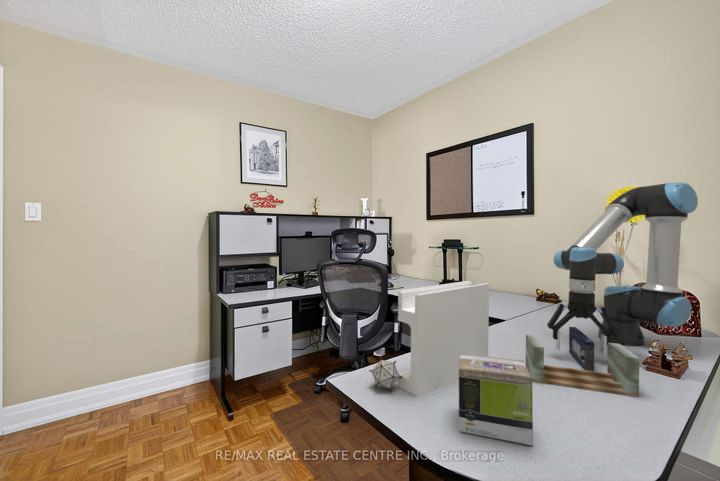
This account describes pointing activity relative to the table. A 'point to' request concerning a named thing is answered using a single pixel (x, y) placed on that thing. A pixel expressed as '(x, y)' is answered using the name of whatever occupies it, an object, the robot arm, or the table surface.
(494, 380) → the tea box
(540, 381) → the cassette cradle
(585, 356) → the vhs cassette tape
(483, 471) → the table surface
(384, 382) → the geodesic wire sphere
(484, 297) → the block
